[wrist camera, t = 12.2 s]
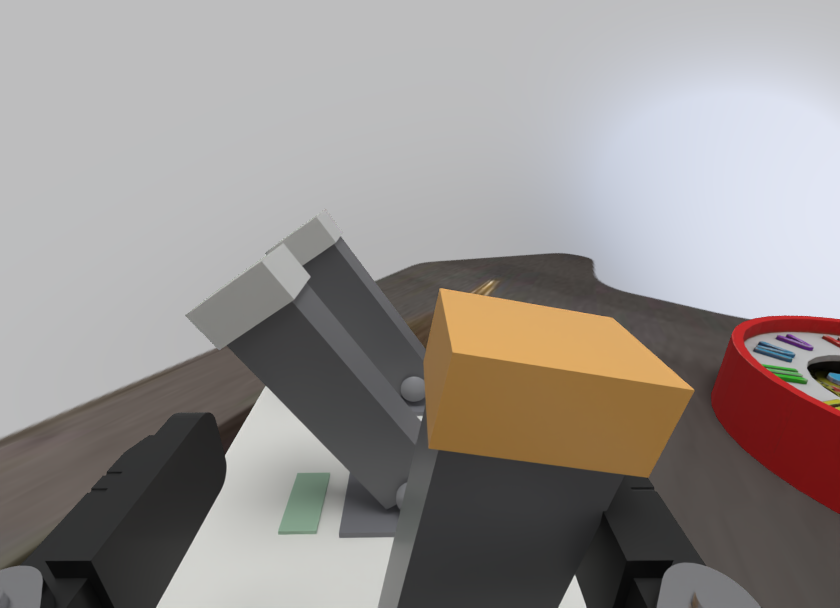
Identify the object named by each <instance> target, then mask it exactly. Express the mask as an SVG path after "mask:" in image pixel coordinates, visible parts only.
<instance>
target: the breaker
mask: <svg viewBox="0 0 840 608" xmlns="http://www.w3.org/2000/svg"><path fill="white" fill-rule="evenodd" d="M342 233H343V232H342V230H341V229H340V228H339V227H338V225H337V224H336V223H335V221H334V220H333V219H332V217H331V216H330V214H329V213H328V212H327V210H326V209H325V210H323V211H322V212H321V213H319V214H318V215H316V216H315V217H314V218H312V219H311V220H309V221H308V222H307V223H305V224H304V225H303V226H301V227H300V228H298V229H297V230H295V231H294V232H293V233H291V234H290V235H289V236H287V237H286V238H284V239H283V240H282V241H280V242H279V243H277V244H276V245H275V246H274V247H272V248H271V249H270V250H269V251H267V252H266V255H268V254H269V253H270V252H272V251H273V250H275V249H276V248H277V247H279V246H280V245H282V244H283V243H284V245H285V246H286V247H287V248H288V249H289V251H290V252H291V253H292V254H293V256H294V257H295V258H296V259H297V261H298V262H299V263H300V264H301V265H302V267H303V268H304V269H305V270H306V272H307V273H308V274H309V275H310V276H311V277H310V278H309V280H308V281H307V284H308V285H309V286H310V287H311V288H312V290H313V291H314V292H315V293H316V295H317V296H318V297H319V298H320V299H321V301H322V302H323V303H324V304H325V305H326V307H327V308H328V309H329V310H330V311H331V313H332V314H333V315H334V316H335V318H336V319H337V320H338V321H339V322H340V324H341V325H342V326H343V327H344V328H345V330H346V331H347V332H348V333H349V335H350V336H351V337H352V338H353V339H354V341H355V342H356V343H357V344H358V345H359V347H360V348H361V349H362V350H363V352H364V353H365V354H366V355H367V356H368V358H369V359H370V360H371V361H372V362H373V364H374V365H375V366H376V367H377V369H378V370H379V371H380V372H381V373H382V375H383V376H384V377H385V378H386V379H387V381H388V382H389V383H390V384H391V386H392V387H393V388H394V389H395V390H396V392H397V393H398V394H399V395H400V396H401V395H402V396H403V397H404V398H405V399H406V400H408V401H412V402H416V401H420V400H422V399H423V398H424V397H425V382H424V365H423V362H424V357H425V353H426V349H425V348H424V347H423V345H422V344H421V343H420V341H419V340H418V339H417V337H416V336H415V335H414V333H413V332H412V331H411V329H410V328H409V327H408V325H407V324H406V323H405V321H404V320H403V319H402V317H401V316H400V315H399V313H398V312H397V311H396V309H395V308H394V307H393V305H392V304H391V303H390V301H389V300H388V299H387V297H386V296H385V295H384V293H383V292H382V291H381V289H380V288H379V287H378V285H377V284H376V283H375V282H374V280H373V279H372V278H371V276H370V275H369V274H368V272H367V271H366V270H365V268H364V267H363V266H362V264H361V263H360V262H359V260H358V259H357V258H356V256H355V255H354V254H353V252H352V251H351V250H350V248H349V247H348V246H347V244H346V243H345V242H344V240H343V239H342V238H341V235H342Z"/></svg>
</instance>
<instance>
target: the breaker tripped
mask: <svg viewBox="0 0 840 608" xmlns="http://www.w3.org/2000/svg"><path fill="white" fill-rule="evenodd" d="M423 365H424V382H425V398H426V404H425V408H424V413H423V417H422V421H421V425H420V430H419V434H418V438H417V442H416V447H415V451H414V455H413V459H412V464H411V468H410V472H409V476H408V481H407V485H406V489H405V493H404V498H403V502H402V506H401V510H400V515H399V519H398V523H397V527H396V532H395V536H394V540H393V544H392V549H391V553H390V557H389V561H388V566H387V570H386V574H385V578H384V583H383V587H382V591H381V595H380V600H379V604H378V608H558V607H559V605H560V603H561V601H562V599H563V597H564V595H565V593H566V591H567V589H568V587H569V585H570V583H571V581H572V579H573V577H574V575H575V573H576V571H577V569H578V567H579V565H580V563H581V561H582V559H583V557H584V555H585V553H586V551H587V549H588V547H589V545H590V543H591V541H592V539H593V537H594V535H595V533H596V531H597V529H598V527H599V525H600V522H601V518H602V514H603V511H607V509H608V507H609V505H610V503H611V501H612V499H613V497H614V495H615V493H616V491H617V489H618V487H619V485H620V483H621V481H622V479H623V477H624V475H631V476H638V477H646V478H648V477H649V475H650V473H651V471H652V470H653V468H654V466H655V464H656V462H657V460H658V458H659V456H660V455H661V453H662V451H663V449H664V447H665V445H666V443H667V441H668V440H669V438H670V436H671V434H672V432H673V430H674V428H675V426H676V424H677V423H678V421H679V419H680V417H681V415H682V413H683V411H684V409H685V408H686V406H687V404H688V402H689V400H690V398H691V396H692V394H693V393H694V391H695V390H694V389H693V388H692V387H690V386H689V385H688V384H687V383H686V382H685V381H684V380H682V379H681V378H680V377H679V376H678V375H677V374H676V373H675V372H673V371H672V370H671V369H670V368H669V367H668V366H667V365H665V364H664V363H663V362H662V361H661V360H660V359H659V358H658V357H656V356H655V355H654V354H653V353H652V352H651V351H650V350H648V349H647V348H646V347H645V346H644V345H643V344H642V343H640V342H639V341H638V340H637V339H636V338H635V337H634V336H633V335H631V334H630V333H629V332H628V331H627V330H626V329H625V328H623V327H622V326H621V325H620V324H619V323H618V322H617V321H616V320H614V319H613V318H610V317H605V316H599V315H593V314H587V313H581V312H575V311H570V310H564V309H558V308H552V307H546V306H541V305H535V304H529V303H523V302H517V301H511V300H506V299H500V298H494V297H488V296H482V295H477V294H471V293H465V292H459V291H453V290H447V289H442V288H440V290H439V294H438V299H437V303H436V308H435V312H434V317H433V321H432V326H431V330H430V335H429V339H428V344H427V348H426V353H425V357H424V362H423Z"/></svg>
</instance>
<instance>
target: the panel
mask: <svg viewBox="0 0 840 608" xmlns="http://www.w3.org/2000/svg"><path fill="white" fill-rule="evenodd" d="M401 398H402V399H403V400H404V401H405V402H406V404H407V405H408V406H409V407H410V409H411V410H412V411H413V412H414V413H415V415H416V416H417V417H418V418H419V419H420V421H422V417H423V413H424V408H425V404H426V398H425V397H424V398H423V399H422V400H420V401H416V402H412V401H408V400H406V399H405V398H404V397H403V396H402V395H401ZM225 458H226V464H227V471H226V478H225V482H224V485H223V487H222V489H221V491H220V493H219V495H218V497H217V499H216V500H215V502H214V504H213V506H212V508H211V509H210V511H209V513H208V515H207V517H206V518H205V520H204V522H203V524H202V526H201V527H200V529H199V531H198V533H197V535H196V536H195V538H194V540H193V542H192V544H191V545H190V547H189V549H188V551H187V553H186V555H185V556H184V558H183V560H182V562H181V564H180V565H179V567H178V569H177V571H176V573H175V574H174V576H173V578H172V580H171V582H170V583H169V585H168V587H167V589H166V591H165V592H164V594H163V596H162V598H161V600H160V601H159V603H158V605H157V607H156V608H378V604H379V600H380V595H381V591H382V587H383V583H384V578H385V574H386V570H387V566H388V561H389V557H390V553H391V549H392V544H393V540H394V536H395V532H396V527H397V523H398V519H399V515H400V509H399V508H398V506H397V505H395V506H393V507H391V508H389V509H387V510H386V509H385V508H384V507H383V506H382V505H381V504H380V503H379V501H378V500H377V499H376V498H375V497H374V496H373V495H372V494H371V493H370V492H369V491H368V490H367V489H366V488H365V487H364V486H363V485H362V484H361V483H360V482H359V481H358V480H357V479H356V478H355V477H354V476H353V475H352V474H351V473H350V472H349V471H348V470H347V469H346V468H345V467H344V465H343V464H342V463H341V462H340V461H339V460H338V459H337V458H336V457H335V456H334V455H333V454H332V453H331V452H330V451H329V450H328V449H327V448H326V447H325V446H324V445H323V444H322V443H321V442H320V441H319V440H318V439H317V438H316V437H315V436H314V435H313V434H312V433H311V432H310V431H309V430H308V428H307V427H306V426H305V425H304V424H303V423H302V422H301V421H300V420H299V419H298V418H297V417H296V416H295V415H294V414H293V413H292V412H291V411H290V410H289V409H288V408H287V407H286V406H285V405H284V404H283V403H282V402H281V401H280V400H279V399H278V398H277V397H276V396H275V395H274V394H273V393H272V391H271V390H270V389H269V388H268V387H267V386H265V388H264V390H263V392H262V393H261V395H260V397H259V398H258V400H257V402H256V404H255V405H254V407H253V409H252V410H251V412H250V414H249V416H248V417H247V419H246V421H245V422H244V424H243V426H242V428H241V429H240V431H239V433H238V434H237V436H236V438H235V439H234V441H233V443H232V445H231V446H230V448H229V450H228V451H227V453H226V455H225ZM558 608H587V607H586V604H585V601H584V598H583V596H582V593H581V590H580V587H579V584H578V581H577V579H576V576H575V575H574V577H573V579H572V581H571V583H570V585H569V587H568V589H567V591H566V593H565V595H564V597H563V599H562V601H561V603H560V605H559V607H558Z"/></svg>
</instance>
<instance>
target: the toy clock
mask: <svg viewBox="0 0 840 608" xmlns="http://www.w3.org/2000/svg"><path fill="white" fill-rule="evenodd" d="M711 401H712V407H713V409H714V412H715V414H716V417H717V418H718V420H719V421H720V423H721V424H722V425H723V427H724V428H725V430H726V431H727V432H728V434H729V435H730V436H731V437H732V438H733V439H734V440H735V441H736V442H737V443H738V444H739V445H740V446H741V447H742V448H743V449H744V450H745V451H746V452H748V453H749V454H750V455H751V456H753V457H754V458H755V459H756V460H757V461H759V462H760V463H761V464H762V465H763V466H765V467H766V468H767V469H768V470H770V471H771V472H773V473H774V474H776V475H777V476H779V477H780V478H782V479H783V480H784V481H786V482H787V483H789V484H790V485H792V486H793V487H795V488H796V489H798V490H799V491H801V492H803V493H804V494H806V495H808V496H809V497H811V498H813V499H814V500H816V501H818V502H820V503H821V504H823V505H825V506H826V507H828V508H830V509H831V510H833V511H835V512H837V513H839V514H840V319H833V318H823V317H811V316H768V317H761V318H755V319H751V320H748V321H745V322H743V323H741V324H740V325H738V326H737V327H735V329H734V331H733V333H732V335H731V338H730V341H729V344H728V347H727V350H726V353H725V356H724V359H723V362H722V364H721V367H720V370H719V373H718V376H717V379H716V382H715V385H714V388H713V391H712V393H711Z"/></svg>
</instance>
